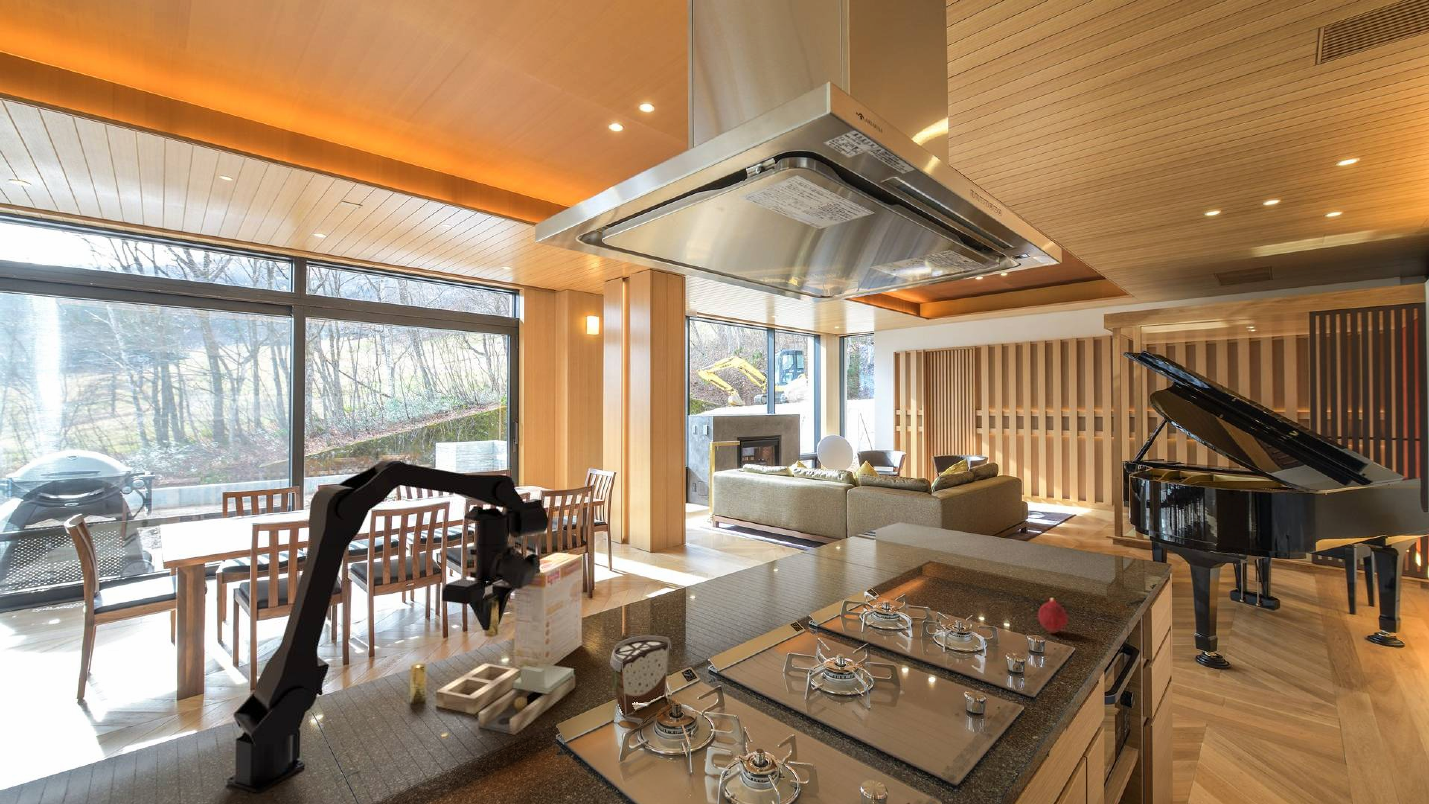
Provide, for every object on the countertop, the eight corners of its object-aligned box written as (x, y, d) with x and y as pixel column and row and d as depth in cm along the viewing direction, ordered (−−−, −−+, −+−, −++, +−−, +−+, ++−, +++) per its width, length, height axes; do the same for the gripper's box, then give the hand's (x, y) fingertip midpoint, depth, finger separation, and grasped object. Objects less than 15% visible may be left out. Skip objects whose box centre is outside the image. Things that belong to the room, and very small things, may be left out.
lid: (547, 694, 100) (547, 673, 100) (513, 687, 102) (513, 667, 102) (573, 674, 108) (573, 655, 108) (541, 668, 110) (541, 649, 110)
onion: (1072, 638, 133) (1072, 602, 133) (1046, 637, 133) (1046, 602, 133) (1058, 628, 138) (1058, 594, 139) (1033, 628, 139) (1033, 594, 139)
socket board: (474, 714, 98) (474, 698, 98) (436, 706, 101) (436, 691, 101) (520, 683, 110) (520, 669, 110) (484, 676, 112) (485, 663, 112)
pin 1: (417, 704, 101) (418, 669, 101) (406, 702, 102) (407, 667, 102) (428, 698, 104) (429, 664, 104) (418, 696, 104) (418, 662, 104)
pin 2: (481, 635, 107) (482, 602, 107) (490, 631, 110) (491, 598, 110) (492, 637, 106) (492, 604, 107) (501, 632, 109) (501, 600, 109)
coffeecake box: (554, 641, 130) (555, 552, 130) (583, 645, 128) (584, 554, 128) (511, 669, 115) (512, 569, 116) (543, 674, 113) (544, 572, 114)
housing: (514, 734, 92) (515, 720, 92) (478, 726, 94) (478, 713, 94) (575, 687, 108) (575, 675, 108) (542, 681, 110) (542, 669, 110)
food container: (647, 683, 110) (647, 629, 110) (671, 693, 106) (671, 637, 106) (594, 709, 100) (595, 649, 100) (618, 721, 96) (619, 659, 96)
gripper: (493, 557, 97) (492, 653, 97) (559, 535, 115) (558, 616, 114) (440, 551, 101) (438, 644, 100) (511, 531, 118) (510, 609, 118)
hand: (491, 627), depth 108 cm, fingers closed on pin 2, 2 cm apart
